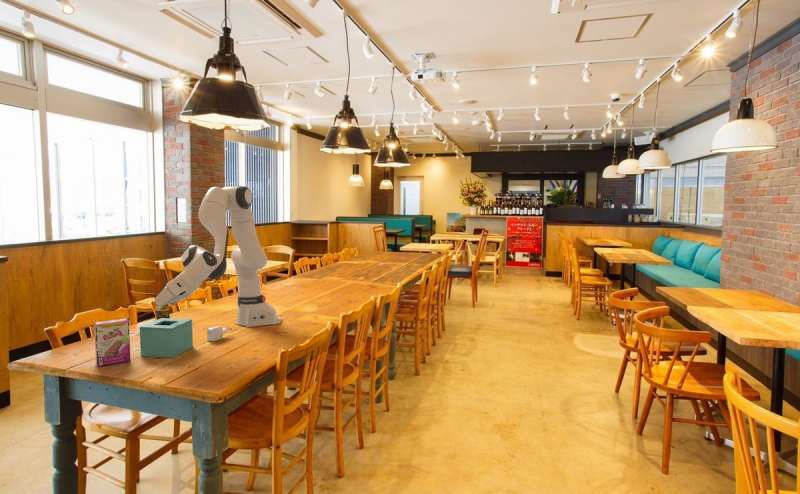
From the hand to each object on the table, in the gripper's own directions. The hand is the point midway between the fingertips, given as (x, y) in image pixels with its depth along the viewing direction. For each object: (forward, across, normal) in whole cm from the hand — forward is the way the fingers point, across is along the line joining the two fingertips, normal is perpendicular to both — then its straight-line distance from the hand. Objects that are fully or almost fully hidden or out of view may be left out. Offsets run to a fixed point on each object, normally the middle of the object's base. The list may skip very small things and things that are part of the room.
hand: (164, 306), depth 191 cm
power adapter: (+4, -20, +23) cm, 31 cm away
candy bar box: (+22, +16, +5) cm, 27 cm away
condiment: (+31, -33, -4) cm, 45 cm away
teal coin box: (+13, 0, +14) cm, 19 cm away
